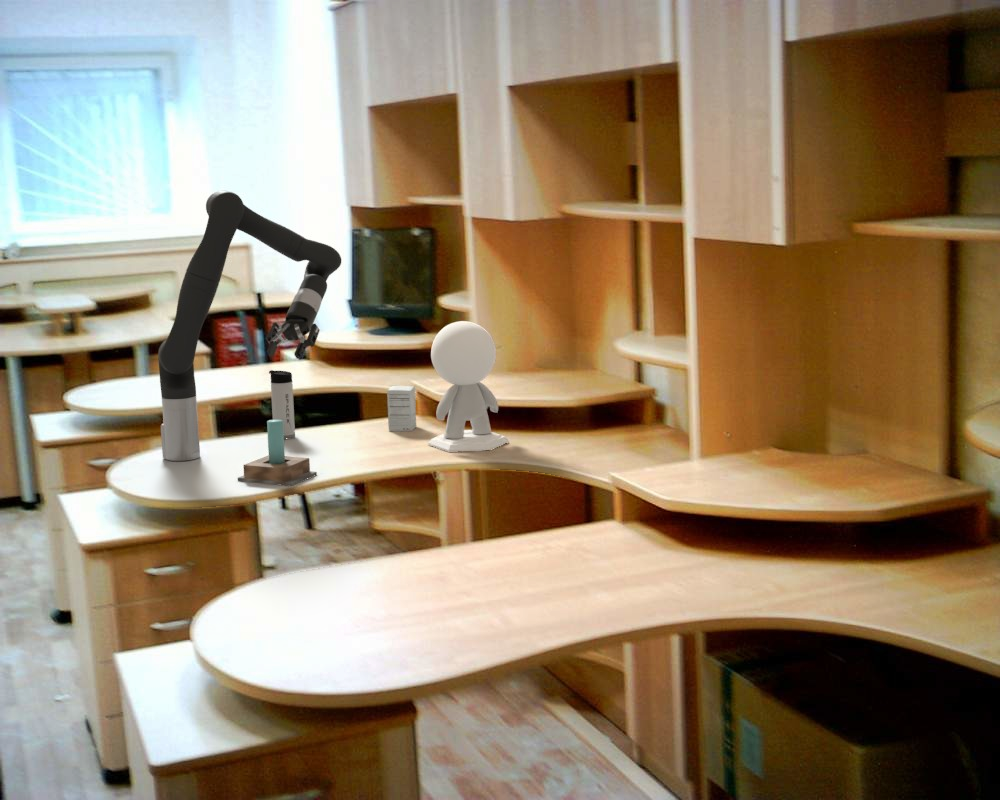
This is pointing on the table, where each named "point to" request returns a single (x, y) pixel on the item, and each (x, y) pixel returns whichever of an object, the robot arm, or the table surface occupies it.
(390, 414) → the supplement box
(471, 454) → the table surface
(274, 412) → the travel mug
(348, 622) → the table surface
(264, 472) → the socket
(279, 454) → the peg
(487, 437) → the white toy figurine
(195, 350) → the robot arm
